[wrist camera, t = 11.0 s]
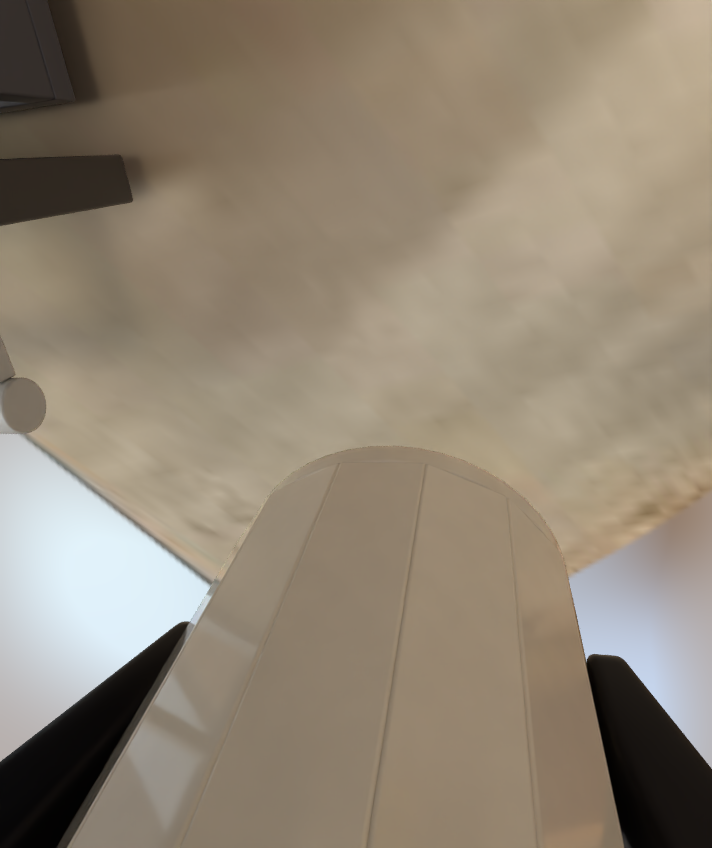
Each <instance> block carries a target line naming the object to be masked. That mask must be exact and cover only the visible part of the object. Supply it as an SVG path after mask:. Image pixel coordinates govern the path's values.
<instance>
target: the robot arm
mask: <svg viewBox="0 0 712 848" xmlns="http://www.w3.org/2000/svg"><path fill="white" fill-rule="evenodd" d="M189 623H190V622H181V623H179V624H178V625H176V626H175V627H173V628H172V629H170V630H169V631H168V632H167V633H165V634H164V635H163V636H161V637H160V638H159V639H158V640H156V641H155V642H154V643H152V644H151V645H150V646H149V647H147V648H146V649H145V650H143V651H142V652H141V653H140V654H138V655H137V656H136V657H134V658H133V659H132V660H131V661H129V662H128V663H127V664H125V665H124V666H123V667H122V668H120V669H119V670H118V671H117V672H115V673H114V674H113V675H111V676H110V677H109V678H107V679H106V680H105V681H104V682H102V683H101V684H100V685H98V686H97V687H96V688H95V689H93V690H92V691H91V692H89V693H88V694H87V695H86V696H84V697H83V698H82V699H80V700H79V701H78V702H77V703H75V704H74V705H73V706H72V707H70V708H69V709H68V710H66V711H65V712H64V713H63V714H61V715H60V716H59V717H57V718H56V719H55V720H53V721H52V722H51V723H50V724H48V725H47V726H46V727H44V728H43V729H42V730H41V731H39V732H38V733H37V734H35V735H34V736H33V737H32V738H30V739H29V740H28V741H26V742H25V743H24V744H23V745H22V746H20V747H19V748H18V749H16V750H15V751H14V752H12V753H11V754H10V755H9V756H7V757H6V758H5V759H3V760H2V761H1V762H0V848H56V847H57V846H58V844H59V842H60V841H61V839H62V837H63V836H64V834H65V832H66V831H67V829H68V827H69V825H70V824H71V822H72V820H73V819H74V817H75V815H76V814H77V812H78V810H79V809H80V807H81V805H82V803H83V802H84V800H85V798H86V797H87V795H88V793H89V792H90V790H91V788H92V787H93V785H94V783H95V782H96V780H97V778H98V776H99V775H100V773H101V771H102V770H103V768H104V766H105V765H106V763H107V761H108V760H109V758H110V756H111V754H112V753H113V751H114V749H115V748H116V746H117V744H118V743H119V741H120V739H121V738H122V736H123V734H124V733H125V731H126V729H127V727H128V726H129V724H130V722H131V721H132V719H133V717H134V716H135V714H136V712H137V711H138V709H139V707H140V705H141V704H142V702H143V700H144V699H145V697H146V695H147V694H148V692H149V690H150V689H151V687H152V685H153V683H154V682H155V680H156V678H157V677H158V675H159V673H160V672H161V670H162V668H163V667H164V665H165V663H166V662H167V660H168V658H169V656H170V655H171V653H172V651H173V650H174V648H175V646H176V645H177V643H178V641H179V640H180V638H181V636H182V634H183V633H184V631H185V629H186V628H187V626H188V624H189ZM587 668H588V673H589V677H590V682H591V687H592V691H593V696H594V701H595V706H596V710H597V715H598V720H599V724H600V729H601V734H602V738H603V743H604V748H605V753H606V757H607V762H608V767H609V771H610V776H611V781H612V785H613V790H614V794H615V799H616V804H617V808H618V813H619V818H620V822H621V827H622V832H623V836H624V841H625V846H626V848H712V769H711V767H710V766H709V765H708V764H707V763H706V761H705V760H704V759H703V757H702V756H701V755H700V754H699V753H698V751H697V750H696V749H695V748H694V746H693V745H692V744H691V743H690V741H689V740H688V739H687V738H686V736H685V735H684V734H683V733H682V731H681V730H680V729H679V728H678V726H677V725H676V724H675V723H674V721H673V720H672V719H671V718H670V716H669V715H668V714H667V713H666V712H665V710H664V709H663V708H662V706H661V705H660V704H659V703H658V702H657V700H656V699H655V698H654V696H653V695H652V694H651V693H650V692H649V690H648V689H647V688H646V687H645V685H644V684H643V683H642V681H641V680H640V679H639V678H638V677H637V675H636V674H635V673H634V672H633V670H632V669H631V668H630V667H629V665H628V664H627V663H626V662H625V661H624V660H623V659H622V658H620V657H618V656H611V655H598V654H592V655H590V656H589V657H588V659H587Z"/></svg>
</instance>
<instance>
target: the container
mask: <svg viewBox="0 0 712 848" xmlns="http://www.w3.org/2000/svg"><path fill="white" fill-rule="evenodd" d="M56 848H626V846H625V841H624V836H623V832H622V827H621V822H620V818H619V813H618V808H617V804H616V799H615V794H614V790H613V785H612V781H611V776H610V771H609V767H608V762H607V757H606V753H605V748H604V743H603V738H602V734H601V729H600V724H599V720H598V715H597V710H596V706H595V701H594V696H593V691H592V687H591V682H590V677H589V673H588V668H587V663H586V658H585V654H584V649H583V644H582V639H581V635H580V630H579V625H578V620H577V616H576V611H575V607H574V603H573V598H572V593H571V589H570V584H569V579H568V575H567V570H566V565H565V562H564V558H563V556H562V553H561V549H560V547H559V545H558V543H557V541H556V539H555V537H554V535H553V533H552V531H551V529H550V528H549V526H548V525H547V524H546V522H545V521H544V520H543V518H542V517H541V515H540V514H539V513H538V512H537V511H536V510H535V509H534V508H533V506H532V505H531V504H530V503H529V502H528V501H527V500H526V499H525V498H524V497H523V496H521V495H520V494H519V493H518V492H516V491H515V490H514V489H513V488H511V487H510V486H509V485H508V484H506V483H505V482H504V481H502V480H500V479H499V478H497V477H495V476H494V475H492V474H491V473H489V472H487V471H486V470H484V469H481V468H479V467H477V466H475V465H473V464H471V463H468V462H466V461H464V460H461V459H458V458H455V457H452V456H449V455H446V454H443V453H439V452H435V451H430V450H425V449H420V448H413V447H402V446H369V447H362V448H355V449H348V450H345V451H341V452H337V453H334V454H330V455H327V456H324V457H322V458H320V459H317V460H315V461H313V462H310V463H308V464H306V465H305V466H303V467H301V468H300V469H298V470H296V471H295V472H293V473H291V474H290V475H289V476H288V477H286V478H285V479H284V480H283V481H282V482H280V483H279V484H278V485H277V486H276V487H275V488H274V489H273V490H272V492H271V493H270V494H269V495H268V496H267V497H266V499H265V500H264V502H263V504H262V505H261V507H260V508H259V510H258V512H257V513H256V515H255V517H254V518H253V520H252V521H251V523H250V524H249V526H248V527H247V528H246V530H245V531H244V533H243V534H242V535H241V537H240V538H239V540H238V541H237V543H236V545H235V547H234V548H233V550H232V552H231V553H230V555H229V557H228V558H227V560H226V562H225V563H224V565H223V567H222V569H221V570H220V572H219V574H218V575H217V577H216V579H215V580H214V582H213V584H212V585H211V587H210V589H209V591H208V592H207V594H206V596H205V597H204V599H203V601H202V602H201V604H200V606H199V607H198V609H197V611H196V613H195V614H194V616H193V618H192V619H191V621H190V623H189V624H188V626H187V628H186V629H185V631H184V633H183V634H182V636H181V638H180V640H179V641H178V643H177V645H176V646H175V648H174V650H173V651H172V653H171V655H170V656H169V658H168V660H167V662H166V663H165V665H164V667H163V668H162V670H161V672H160V673H159V675H158V677H157V678H156V680H155V682H154V683H153V685H152V687H151V689H150V690H149V692H148V694H147V695H146V697H145V699H144V700H143V702H142V704H141V705H140V707H139V709H138V711H137V712H136V714H135V716H134V717H133V719H132V721H131V722H130V724H129V726H128V727H127V729H126V731H125V733H124V734H123V736H122V738H121V739H120V741H119V743H118V744H117V746H116V748H115V749H114V751H113V753H112V754H111V756H110V758H109V760H108V761H107V763H106V765H105V766H104V768H103V770H102V771H101V773H100V775H99V776H98V778H97V780H96V782H95V783H94V785H93V787H92V788H91V790H90V792H89V793H88V795H87V797H86V798H85V800H84V802H83V803H82V805H81V807H80V809H79V810H78V812H77V814H76V815H75V817H74V819H73V820H72V822H71V824H70V825H69V827H68V829H67V831H66V832H65V834H64V836H63V837H62V839H61V841H60V842H59V844H58V846H57V847H56Z"/></svg>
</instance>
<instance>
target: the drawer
mask: <svg viewBox="0 0 712 848" xmlns="http://www.w3.org/2000/svg"><path fill="white" fill-rule="evenodd" d="M74 101H75V96H74V93H73V89H72V86H71V82H70V79H69V75H68V72H67V68H66V65H65V61H64V58H63V54H62V51H61V47H60V44H59V40H58V36H57V33H56V29H55V26H54V22H53V19H52V15H51V12H50V8H49V5H48V1H47V0H0V113H5V112H11V111H18V110H24V109H30V108H37V107H43V106H50V105H56V104H63V103H69V102H74ZM132 201H133V198H132V194H131V190H130V186H129V182H128V179H127V175H126V171H125V167H124V163H123V160H122V157H121V155H96V156H70V157H44V158H19V159H0V226H2V225H8V224H13V223H19V222H25V221H30V220H36V219H41V218H47V217H52V216H58V215H64V214H69V213H75V212H80V211H86V210H91V209H97V208H103V207H108V206H114V205H119V204H125V203H130V202H132ZM13 376H15V371H14V369H13V366H12V364H11V361H10V359H9V356H8V354H7V351H6V349H5V346H4V344H3V341H2V339H1V336H0V434H26V433H30V432H32V431H34V430H36V429H37V428H38V427H39V426H40V425H41V423H42V422H43V420H44V417H45V413H46V400H45V397H44V394H43V392H42V390H41V388H40V387H39V386H38V385H37V384H36V383H35V382H33V381H32V380H30V379H27V378H11V377H13Z"/></svg>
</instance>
